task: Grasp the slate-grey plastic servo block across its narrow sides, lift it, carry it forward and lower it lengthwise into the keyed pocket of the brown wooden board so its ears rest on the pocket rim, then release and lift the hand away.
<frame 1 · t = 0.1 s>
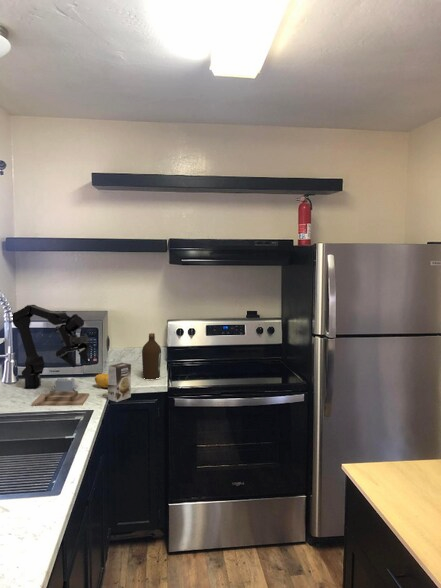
hand: (81, 365, 208), 15 cm above the countertop, tool tilted 30°, fingers open, 9 cm apart
olive oil: (151, 378, 243), on the countertop
coffee box: (119, 398, 206), on the countertop
servo block: (65, 391, 215), on the countertop
brown wooden board: (61, 400, 201), on the countertop
potato: (108, 388, 223), on the countertop
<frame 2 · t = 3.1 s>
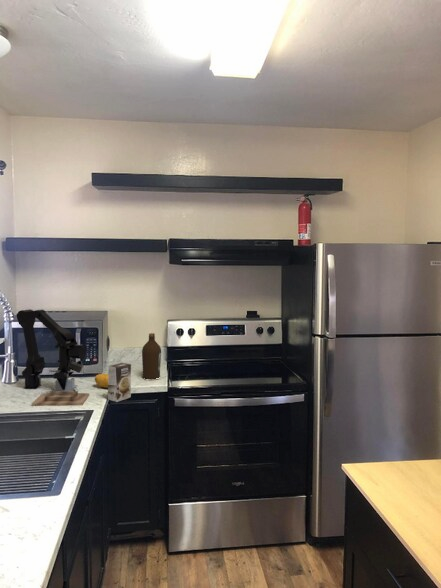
hand: (65, 388, 215), 2 cm above the countertop, tool pointing down, fingers closed on servo block, 4 cm apart
servo block: (65, 391, 215), on the countertop, touching gripper
everything else where it was.
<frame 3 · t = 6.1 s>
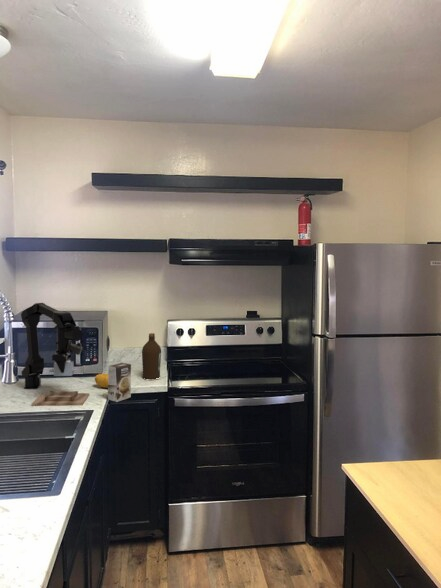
hand: (63, 371, 207), 12 cm above the countertop, tool pointing down, fingers closed on servo block, 4 cm apart
servo block: (63, 374, 207), point 10 cm above the countertop, touching gripper
everything else where it was.
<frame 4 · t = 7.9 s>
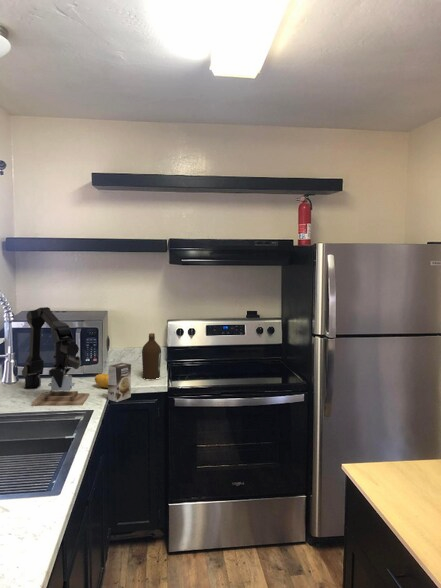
hand: (61, 386, 201), 7 cm above the countertop, tool pointing down, fingers closed on servo block, 4 cm apart
servo block: (61, 389, 201), point 5 cm above the countertop, touching gripper
everything else where it was.
when the fingers open (4 cm above the countertop, at t = 9.3 s): servo block drops 1 cm, resting on brown wooden board.
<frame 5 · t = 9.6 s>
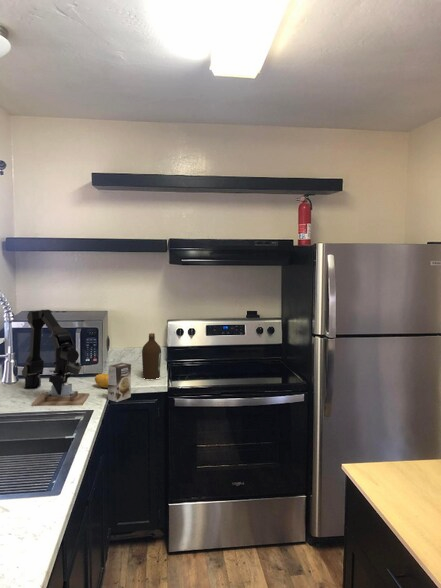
hand: (61, 392, 201), 4 cm above the countertop, tool pointing down, fingers open, 7 cm apart
servo block: (61, 397, 201), point 1 cm above the countertop, touching brown wooden board
everything else where it was.
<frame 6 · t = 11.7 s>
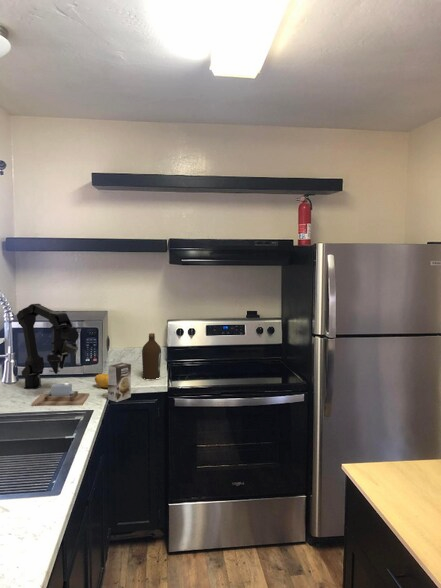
hand: (59, 371, 210), 11 cm above the countertop, tool pointing down, fingers open, 9 cm apart
nothing on the countertop moved.
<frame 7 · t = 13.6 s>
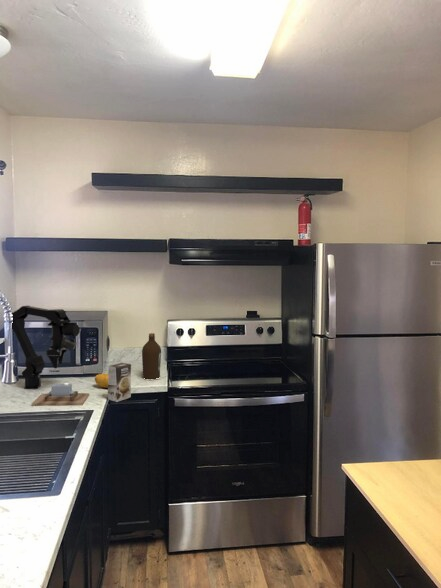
hand: (58, 366, 217), 12 cm above the countertop, tool pointing down, fingers open, 9 cm apart
nothing on the countertop moved.
at the end: servo block 0.0 cm off-centre on the brown wooden board, point 1.2 cm above the brown wooden board's base; servo block tilted 0°; the gripper is holding nothing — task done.
